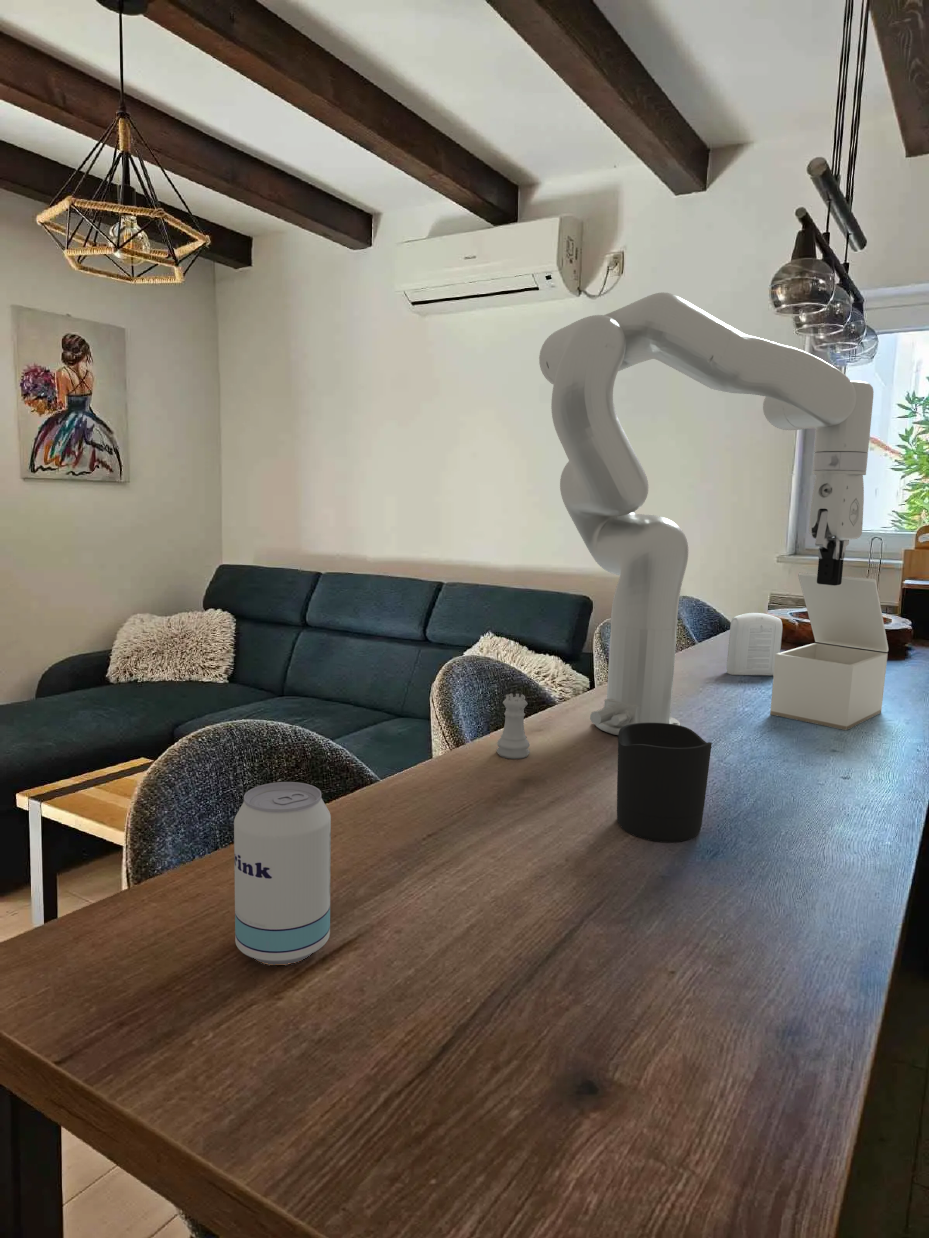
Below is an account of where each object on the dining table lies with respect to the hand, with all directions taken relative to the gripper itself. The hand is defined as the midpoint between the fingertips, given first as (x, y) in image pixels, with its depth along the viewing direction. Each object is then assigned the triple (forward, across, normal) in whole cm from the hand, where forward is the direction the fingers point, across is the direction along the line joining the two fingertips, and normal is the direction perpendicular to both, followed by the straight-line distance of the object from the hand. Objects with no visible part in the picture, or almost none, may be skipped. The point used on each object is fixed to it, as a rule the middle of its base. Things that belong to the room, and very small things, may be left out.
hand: (828, 584), depth 131 cm
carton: (+22, +5, 0) cm, 22 cm away
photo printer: (+22, +24, +22) cm, 40 cm away
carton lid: (+5, +8, 0) cm, 9 cm away
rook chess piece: (+22, -52, +20) cm, 59 cm away
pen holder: (+22, -58, -6) cm, 63 cm away
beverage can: (+21, -100, +1) cm, 103 cm away
